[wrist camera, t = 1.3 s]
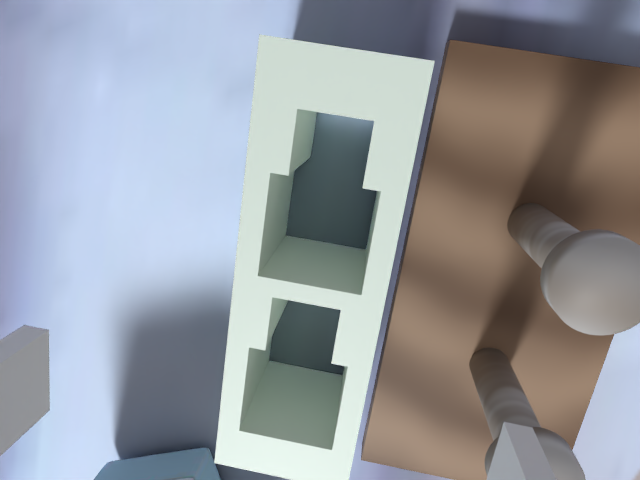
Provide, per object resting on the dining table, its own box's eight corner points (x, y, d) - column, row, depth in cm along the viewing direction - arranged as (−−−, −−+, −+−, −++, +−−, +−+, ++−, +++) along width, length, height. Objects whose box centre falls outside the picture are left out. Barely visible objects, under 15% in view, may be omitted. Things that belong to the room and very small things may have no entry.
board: (446, 43, 25) (490, 5, 15) (687, 78, 24) (907, 64, 14) (362, 444, 33) (353, 602, 22) (546, 482, 32) (624, 665, 22)
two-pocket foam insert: (290, 50, 26) (259, 34, 20) (420, 70, 26) (434, 60, 19) (248, 387, 32) (214, 463, 26) (353, 409, 32) (346, 491, 25)
